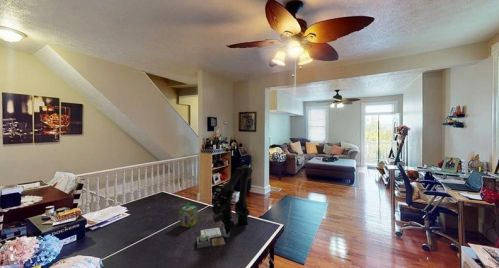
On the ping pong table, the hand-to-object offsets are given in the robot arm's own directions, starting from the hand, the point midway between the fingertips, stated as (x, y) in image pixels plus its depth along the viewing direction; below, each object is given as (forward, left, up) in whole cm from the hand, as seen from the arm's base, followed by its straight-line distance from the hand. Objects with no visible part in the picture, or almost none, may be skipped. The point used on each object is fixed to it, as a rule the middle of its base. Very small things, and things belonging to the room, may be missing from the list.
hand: (226, 232), depth 125 cm
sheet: (+9, -6, -2) cm, 11 cm away
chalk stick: (0, 0, -2) cm, 2 cm away
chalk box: (+22, -23, -2) cm, 32 cm away
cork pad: (+6, +5, -2) cm, 8 cm away
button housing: (+15, +4, -2) cm, 15 cm away
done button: (+15, +4, -1) cm, 15 cm away
